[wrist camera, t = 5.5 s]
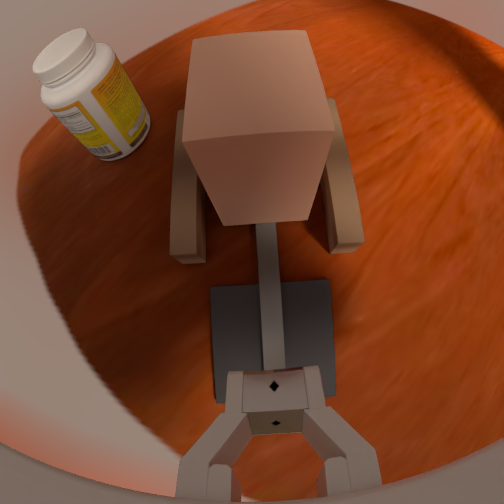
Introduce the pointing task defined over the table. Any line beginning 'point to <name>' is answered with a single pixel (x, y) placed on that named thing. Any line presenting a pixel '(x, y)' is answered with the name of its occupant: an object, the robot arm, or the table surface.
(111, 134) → the supplement bottle
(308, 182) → the block
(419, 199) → the table surface
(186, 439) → the table surface
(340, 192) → the track
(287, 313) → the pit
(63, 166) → the table surface
